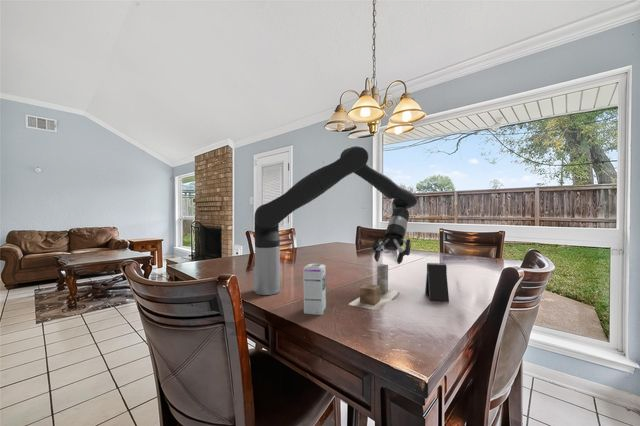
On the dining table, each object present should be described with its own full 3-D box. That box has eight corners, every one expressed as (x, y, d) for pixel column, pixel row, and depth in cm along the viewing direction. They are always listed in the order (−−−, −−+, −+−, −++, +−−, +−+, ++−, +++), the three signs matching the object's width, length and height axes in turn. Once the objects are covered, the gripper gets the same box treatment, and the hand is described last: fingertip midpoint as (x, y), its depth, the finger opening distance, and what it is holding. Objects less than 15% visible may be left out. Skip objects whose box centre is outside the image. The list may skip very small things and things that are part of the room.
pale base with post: (348, 306, 86) (348, 273, 86) (373, 289, 105) (373, 261, 104) (378, 313, 81) (378, 277, 81) (399, 293, 99) (399, 264, 99)
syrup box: (322, 318, 78) (322, 267, 77) (303, 316, 79) (302, 266, 79) (326, 310, 83) (326, 263, 83) (307, 309, 84) (307, 263, 84)
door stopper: (449, 301, 91) (449, 266, 91) (430, 300, 92) (430, 265, 92) (442, 293, 100) (442, 261, 100) (425, 292, 101) (425, 260, 101)
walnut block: (359, 302, 88) (359, 287, 88) (365, 298, 92) (365, 283, 92) (374, 305, 85) (374, 289, 85) (380, 301, 89) (380, 285, 89)
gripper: (377, 222, 113) (366, 253, 104) (412, 223, 105) (404, 257, 96) (382, 234, 118) (372, 265, 108) (415, 236, 110) (408, 269, 100)
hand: (387, 261), depth 102 cm, fingers open, 8 cm apart
